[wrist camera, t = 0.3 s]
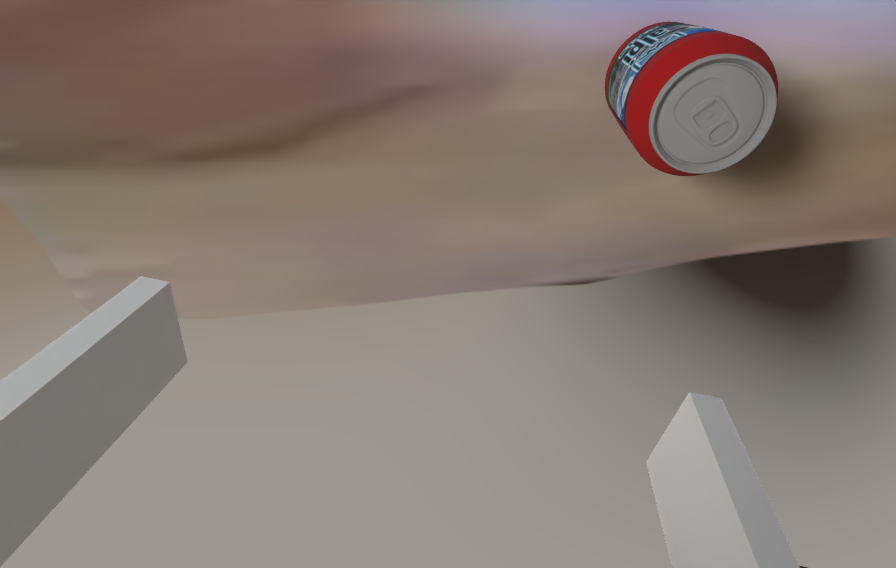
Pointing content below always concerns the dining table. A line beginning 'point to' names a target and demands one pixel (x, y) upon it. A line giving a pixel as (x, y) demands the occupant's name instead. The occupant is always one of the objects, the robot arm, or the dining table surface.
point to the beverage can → (691, 96)
